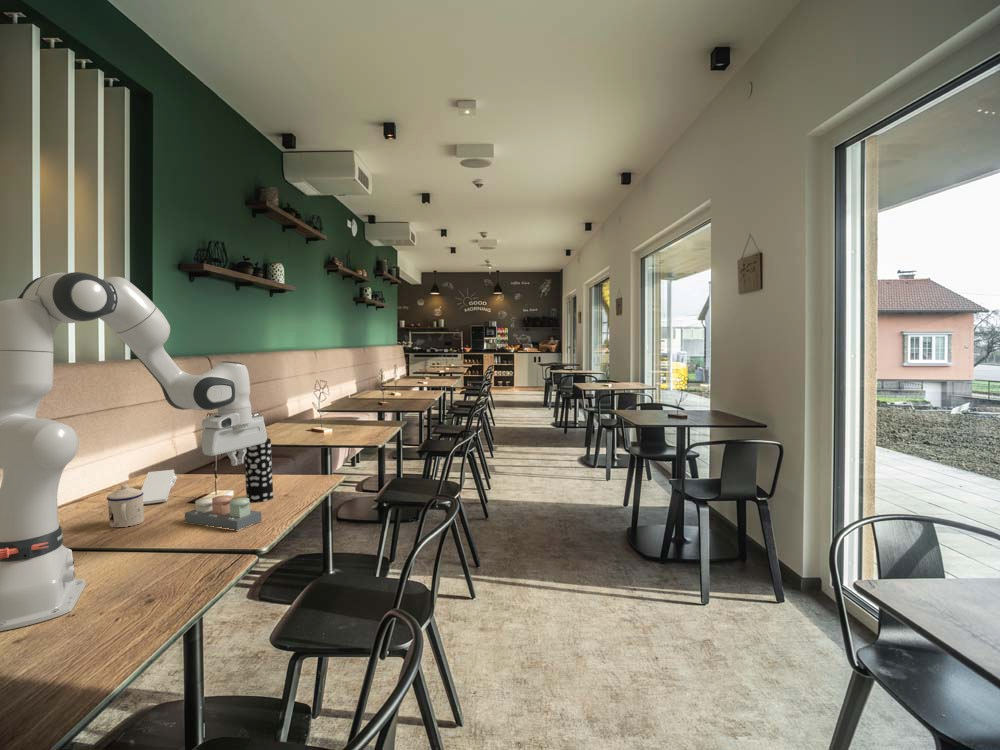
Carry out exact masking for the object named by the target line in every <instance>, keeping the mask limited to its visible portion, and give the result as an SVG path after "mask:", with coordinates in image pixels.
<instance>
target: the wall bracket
mask: <svg viewBox="0 0 1000 750" xmlns="http://www.w3.org/2000/svg"><path fill="white" fill-rule="evenodd" d="M177 480H178V477H177V476H176V474H175V469H166V470H156V471H148V472H147V475H146V477H145V479H144V482H143V485H142V487H141V489H140V490H142V491H143V505H149V504H156V503H157V504H158V503H164V502H167V501H168V498H169V496H170V492H171V490H172V488H173V487H174V485H175V483H177Z"/></svg>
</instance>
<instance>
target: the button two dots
mask: <svg viewBox="0 0 1000 750" xmlns="http://www.w3.org/2000/svg"><path fill="white" fill-rule="evenodd" d="M250 510H251V502H249V498H247V497H238V498H232V500H231V501H230V517H235V518H242V517H244V516H247V515H250Z"/></svg>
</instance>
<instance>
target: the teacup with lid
mask: <svg viewBox="0 0 1000 750" xmlns="http://www.w3.org/2000/svg"><path fill="white" fill-rule="evenodd" d="M106 500H107V507H108V520H109V526H110V527H111V528H113V527H125V528H129V527H128V526H131V527H134V526H133V525H135V526H137V524H138V525H140V524H142V523H143V522H144V521H145V511H144V504H143V491H142V490H141V489H139V488H134V487H132V486H131V487H130V485H129V484H128V483H127V484H125V483H124V484H121V485H120V488H118V489H117V490H116V491H114V492H111V493H109V494H108V495H107V497H106Z"/></svg>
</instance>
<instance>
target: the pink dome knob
mask: <svg viewBox="0 0 1000 750" xmlns="http://www.w3.org/2000/svg"><path fill="white" fill-rule="evenodd" d="M211 498H212V510H213V514H216V515H225V514H227V513H230V501H231V500H233V498H232V495H231V494H230V495H228V494H226V495H225V494H224V495H218V496H214V497H211Z"/></svg>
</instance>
